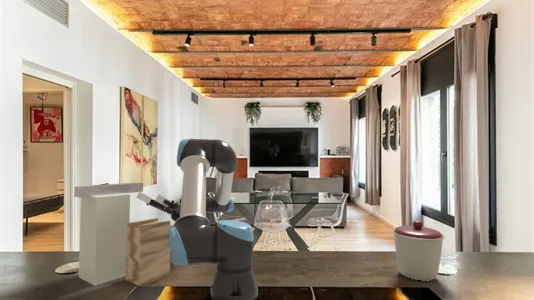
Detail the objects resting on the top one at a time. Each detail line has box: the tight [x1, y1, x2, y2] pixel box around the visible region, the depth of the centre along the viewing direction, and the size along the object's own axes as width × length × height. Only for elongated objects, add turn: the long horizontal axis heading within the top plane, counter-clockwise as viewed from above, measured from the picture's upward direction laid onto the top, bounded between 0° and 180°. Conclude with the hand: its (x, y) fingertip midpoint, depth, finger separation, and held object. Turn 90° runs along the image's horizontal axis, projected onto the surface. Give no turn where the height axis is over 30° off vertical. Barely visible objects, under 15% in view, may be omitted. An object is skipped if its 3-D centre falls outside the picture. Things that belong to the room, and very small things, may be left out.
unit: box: [78, 193, 131, 287], centre depth 114 cm, size 12×12×30 cm
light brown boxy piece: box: [125, 217, 172, 287], centre depth 112 cm, size 9×12×20 cm
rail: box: [73, 182, 144, 198], centre depth 115 cm, size 4×24×4 cm, turn 144°
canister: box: [391, 220, 446, 282], centre depth 118 cm, size 18×18×21 cm
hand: (147, 196), depth 128 cm, fingers open, 13 cm apart
